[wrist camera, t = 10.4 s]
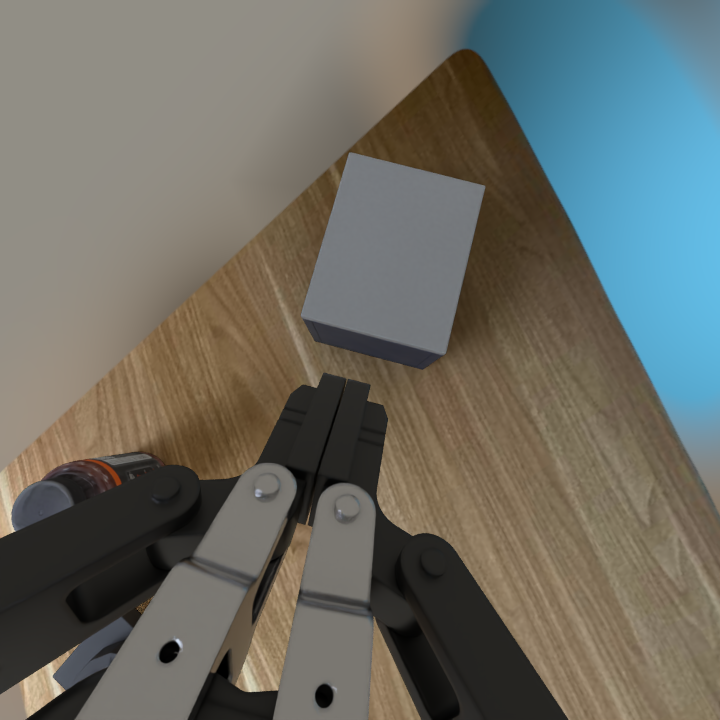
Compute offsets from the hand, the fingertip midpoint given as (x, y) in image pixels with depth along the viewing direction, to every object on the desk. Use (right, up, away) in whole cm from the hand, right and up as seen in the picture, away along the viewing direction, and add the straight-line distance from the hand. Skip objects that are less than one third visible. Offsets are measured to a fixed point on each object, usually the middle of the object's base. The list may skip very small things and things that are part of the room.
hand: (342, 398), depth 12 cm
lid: (+3, +10, +18) cm, 20 cm away
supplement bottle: (-20, -10, +24) cm, 33 cm away
